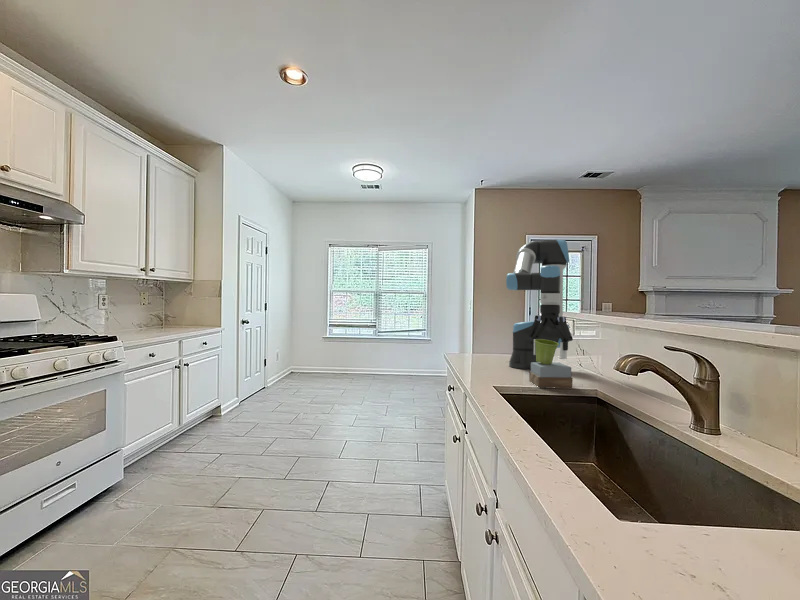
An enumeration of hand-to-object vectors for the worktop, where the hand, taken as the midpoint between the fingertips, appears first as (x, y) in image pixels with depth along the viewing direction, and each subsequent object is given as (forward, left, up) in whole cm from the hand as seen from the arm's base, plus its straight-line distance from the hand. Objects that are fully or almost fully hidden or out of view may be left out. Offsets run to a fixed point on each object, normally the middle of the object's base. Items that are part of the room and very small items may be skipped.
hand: (549, 356), depth 167 cm
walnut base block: (0, 0, -12) cm, 12 cm away
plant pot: (-3, -1, -3) cm, 4 cm away
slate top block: (0, 0, -7) cm, 7 cm away
